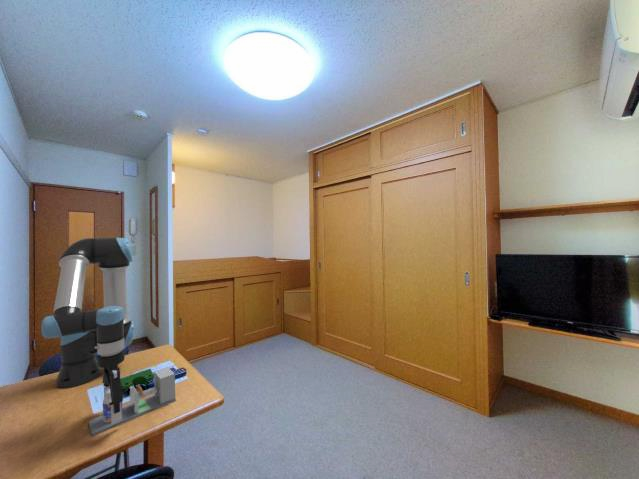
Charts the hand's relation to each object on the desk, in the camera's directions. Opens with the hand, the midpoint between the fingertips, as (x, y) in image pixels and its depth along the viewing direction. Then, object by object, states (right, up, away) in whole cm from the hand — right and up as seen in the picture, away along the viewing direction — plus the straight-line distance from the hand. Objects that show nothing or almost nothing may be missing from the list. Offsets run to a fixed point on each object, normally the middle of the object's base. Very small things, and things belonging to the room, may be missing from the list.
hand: (112, 412), depth 93 cm
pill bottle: (0, -2, 0) cm, 2 cm away
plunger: (+9, -1, +9) cm, 13 cm away
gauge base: (+5, -3, +5) cm, 7 cm away
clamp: (-5, -3, +20) cm, 20 cm away
